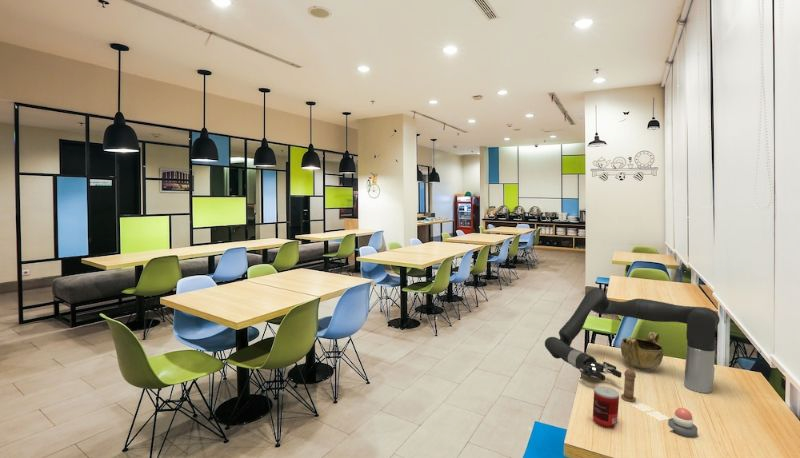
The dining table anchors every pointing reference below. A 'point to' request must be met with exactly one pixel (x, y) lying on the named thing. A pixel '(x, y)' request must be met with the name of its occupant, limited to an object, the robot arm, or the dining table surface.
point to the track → (645, 408)
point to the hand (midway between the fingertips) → (612, 376)
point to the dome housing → (683, 429)
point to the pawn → (629, 386)
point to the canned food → (605, 406)
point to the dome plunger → (683, 418)
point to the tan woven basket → (642, 351)
